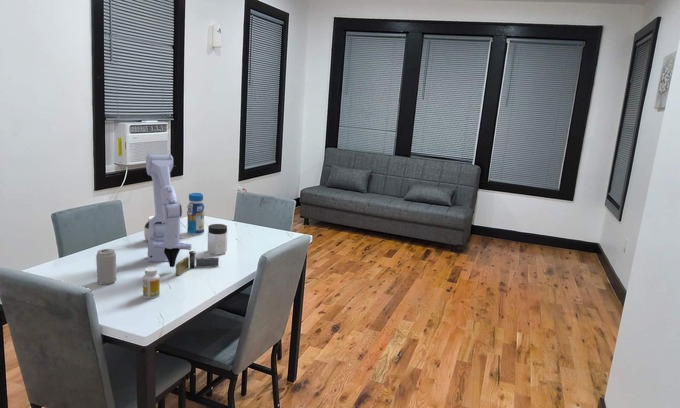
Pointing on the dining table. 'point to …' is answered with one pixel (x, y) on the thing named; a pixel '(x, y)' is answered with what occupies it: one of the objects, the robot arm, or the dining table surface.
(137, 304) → the dining table surface
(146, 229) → the spread jar
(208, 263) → the hinge base
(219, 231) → the jar
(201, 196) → the beverage bottle
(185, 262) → the brass leaf
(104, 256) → the beverage can
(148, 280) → the supplement bottle
